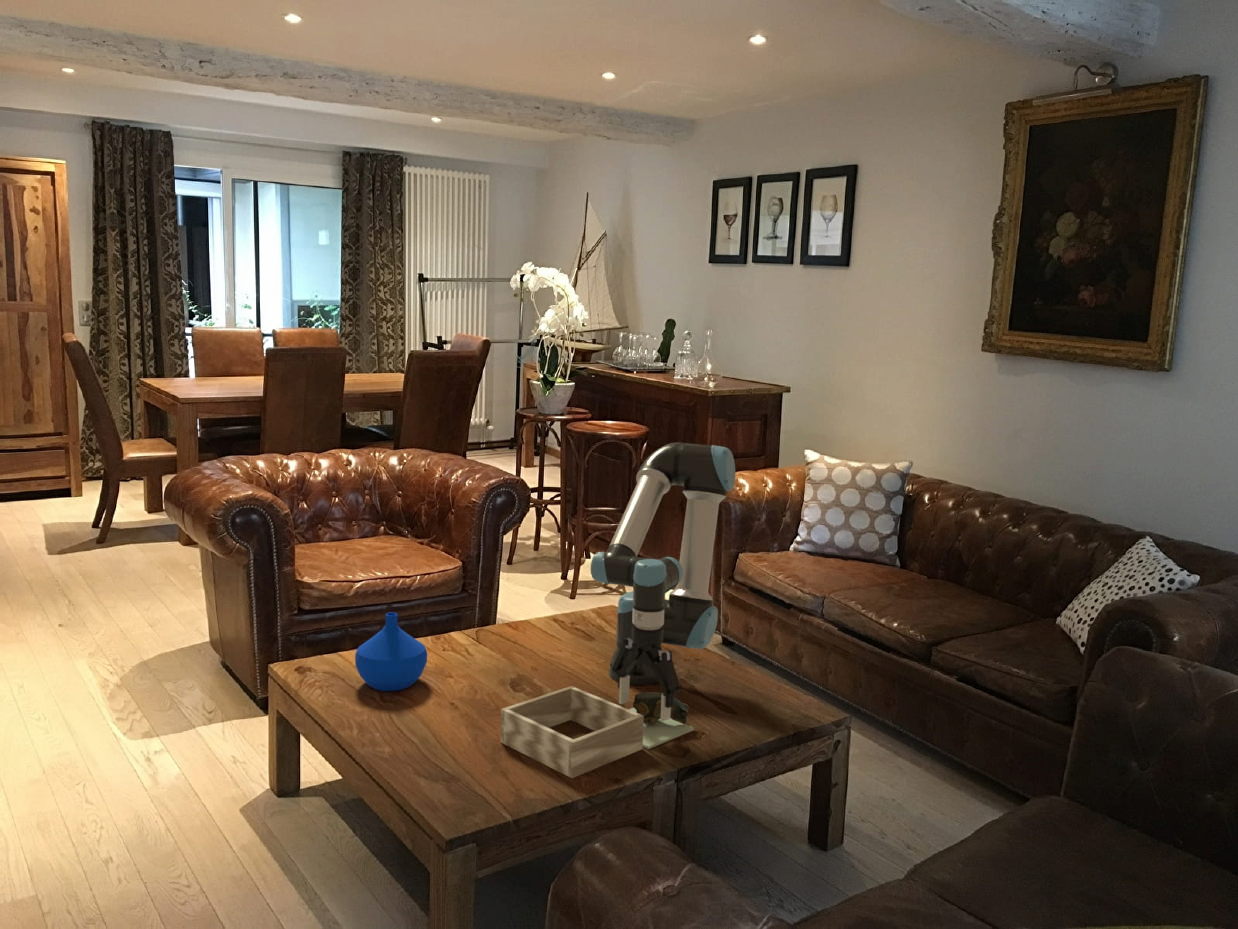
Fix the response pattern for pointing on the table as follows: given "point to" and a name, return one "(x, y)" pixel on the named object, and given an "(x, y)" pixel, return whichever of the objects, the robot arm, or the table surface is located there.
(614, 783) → the table surface
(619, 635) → the robot arm
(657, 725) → the pad
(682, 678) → the table surface
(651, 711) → the sculpture
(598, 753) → the frame
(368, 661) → the vase
